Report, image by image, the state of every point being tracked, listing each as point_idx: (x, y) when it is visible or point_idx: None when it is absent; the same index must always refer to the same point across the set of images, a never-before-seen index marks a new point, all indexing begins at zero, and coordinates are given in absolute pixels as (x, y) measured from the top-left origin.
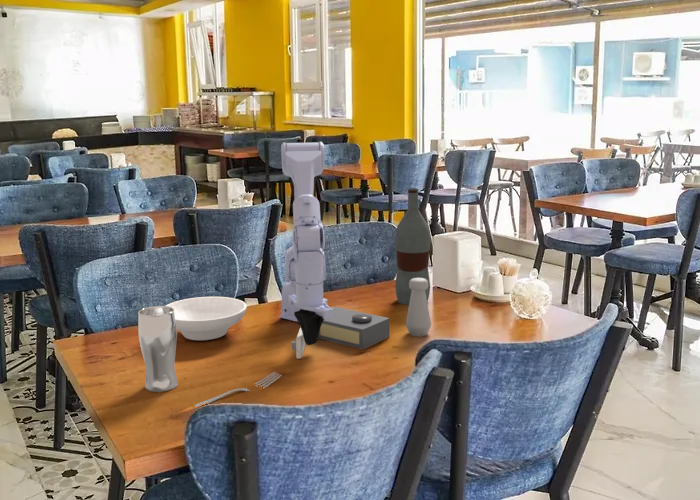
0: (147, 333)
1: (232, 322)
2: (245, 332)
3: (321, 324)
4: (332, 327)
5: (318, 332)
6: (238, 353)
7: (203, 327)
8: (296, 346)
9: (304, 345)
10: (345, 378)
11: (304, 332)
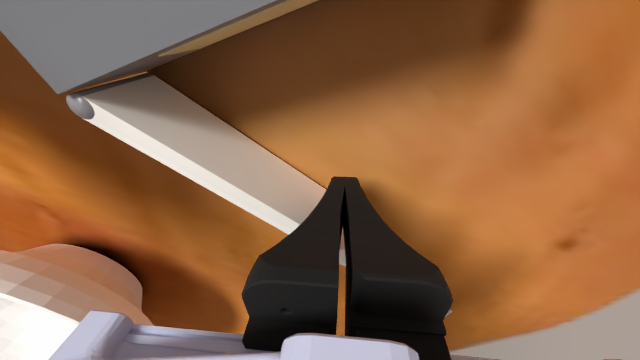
0: None
1: (124, 311)
2: (76, 207)
3: (391, 230)
4: (250, 18)
5: (369, 204)
6: (238, 276)
7: None
8: None
9: (284, 166)
10: (602, 211)
11: (339, 250)
